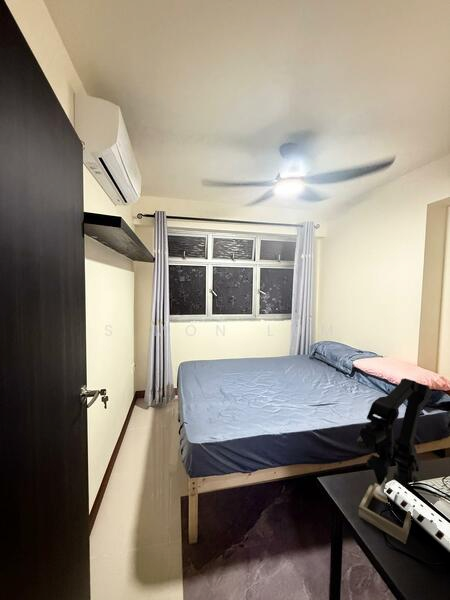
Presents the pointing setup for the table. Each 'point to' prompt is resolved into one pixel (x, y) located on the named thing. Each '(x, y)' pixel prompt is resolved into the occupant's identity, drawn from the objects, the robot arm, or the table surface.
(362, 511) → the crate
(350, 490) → the table surface
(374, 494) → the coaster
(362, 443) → the robot arm
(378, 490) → the chess piece
